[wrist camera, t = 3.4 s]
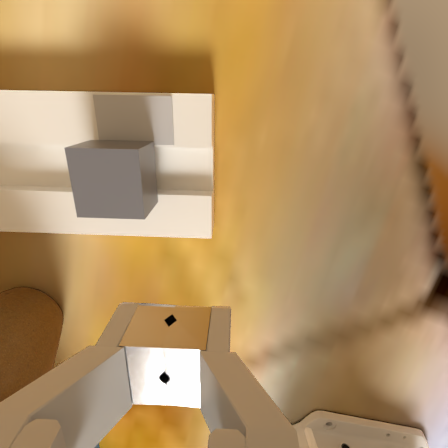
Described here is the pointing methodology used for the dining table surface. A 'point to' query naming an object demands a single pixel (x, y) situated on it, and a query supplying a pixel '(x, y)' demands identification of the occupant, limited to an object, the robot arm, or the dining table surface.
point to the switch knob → (113, 178)
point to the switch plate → (105, 130)
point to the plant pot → (27, 337)
